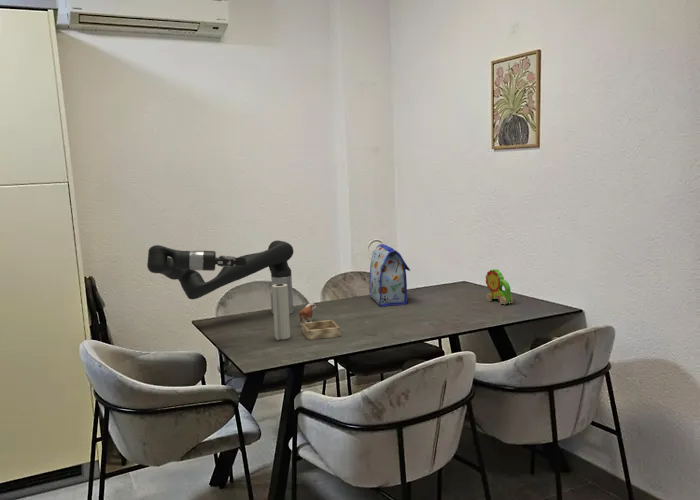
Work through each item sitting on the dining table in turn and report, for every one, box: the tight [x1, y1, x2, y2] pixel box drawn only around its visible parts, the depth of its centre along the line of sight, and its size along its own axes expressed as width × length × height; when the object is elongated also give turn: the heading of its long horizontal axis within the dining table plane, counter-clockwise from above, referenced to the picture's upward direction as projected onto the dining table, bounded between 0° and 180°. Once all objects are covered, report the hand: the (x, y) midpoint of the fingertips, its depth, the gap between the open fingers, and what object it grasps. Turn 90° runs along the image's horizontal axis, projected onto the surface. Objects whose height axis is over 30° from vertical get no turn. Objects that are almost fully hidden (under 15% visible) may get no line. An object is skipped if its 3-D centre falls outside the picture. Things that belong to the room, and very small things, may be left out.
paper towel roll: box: [271, 284, 291, 342], centre depth 243 cm, size 7×6×21 cm
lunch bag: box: [368, 243, 411, 307], centre depth 299 cm, size 23×17×27 cm
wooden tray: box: [301, 319, 341, 341], centre depth 248 cm, size 13×13×4 cm
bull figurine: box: [298, 301, 317, 327], centre depth 264 cm, size 4×13×8 cm, turn 161°
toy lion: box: [485, 269, 514, 305], centre depth 288 cm, size 16×5×15 cm, turn 25°
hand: (245, 261), depth 238 cm, fingers open, 8 cm apart
